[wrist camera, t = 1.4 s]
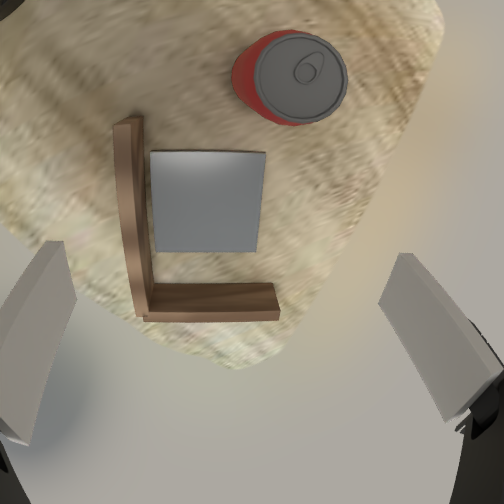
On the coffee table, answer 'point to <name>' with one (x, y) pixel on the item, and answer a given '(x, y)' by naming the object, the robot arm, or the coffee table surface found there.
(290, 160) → the coffee table surface
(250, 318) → the wooden corner frame
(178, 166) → the coaster
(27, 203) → the coffee table surface
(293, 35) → the beer can
